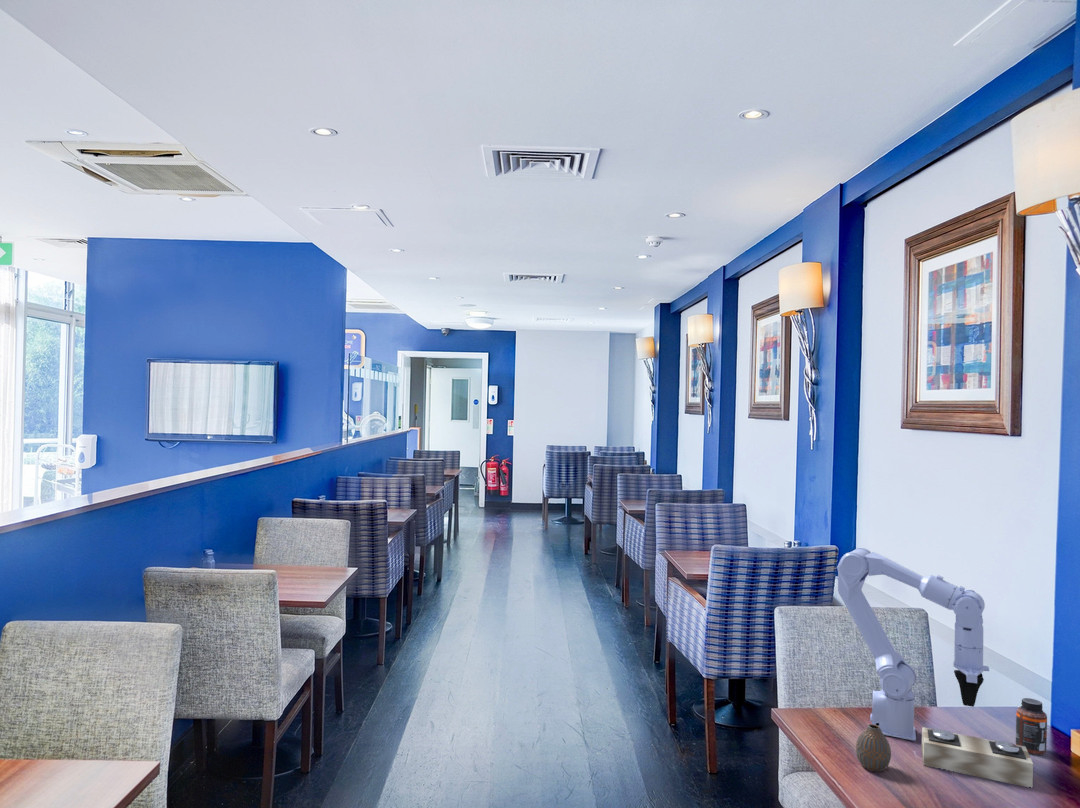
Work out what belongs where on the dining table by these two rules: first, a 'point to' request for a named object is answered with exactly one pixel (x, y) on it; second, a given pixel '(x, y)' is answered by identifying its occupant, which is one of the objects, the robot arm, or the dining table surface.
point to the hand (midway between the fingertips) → (968, 705)
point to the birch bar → (977, 758)
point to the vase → (873, 749)
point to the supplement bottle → (1031, 726)
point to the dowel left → (943, 735)
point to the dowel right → (1007, 747)
